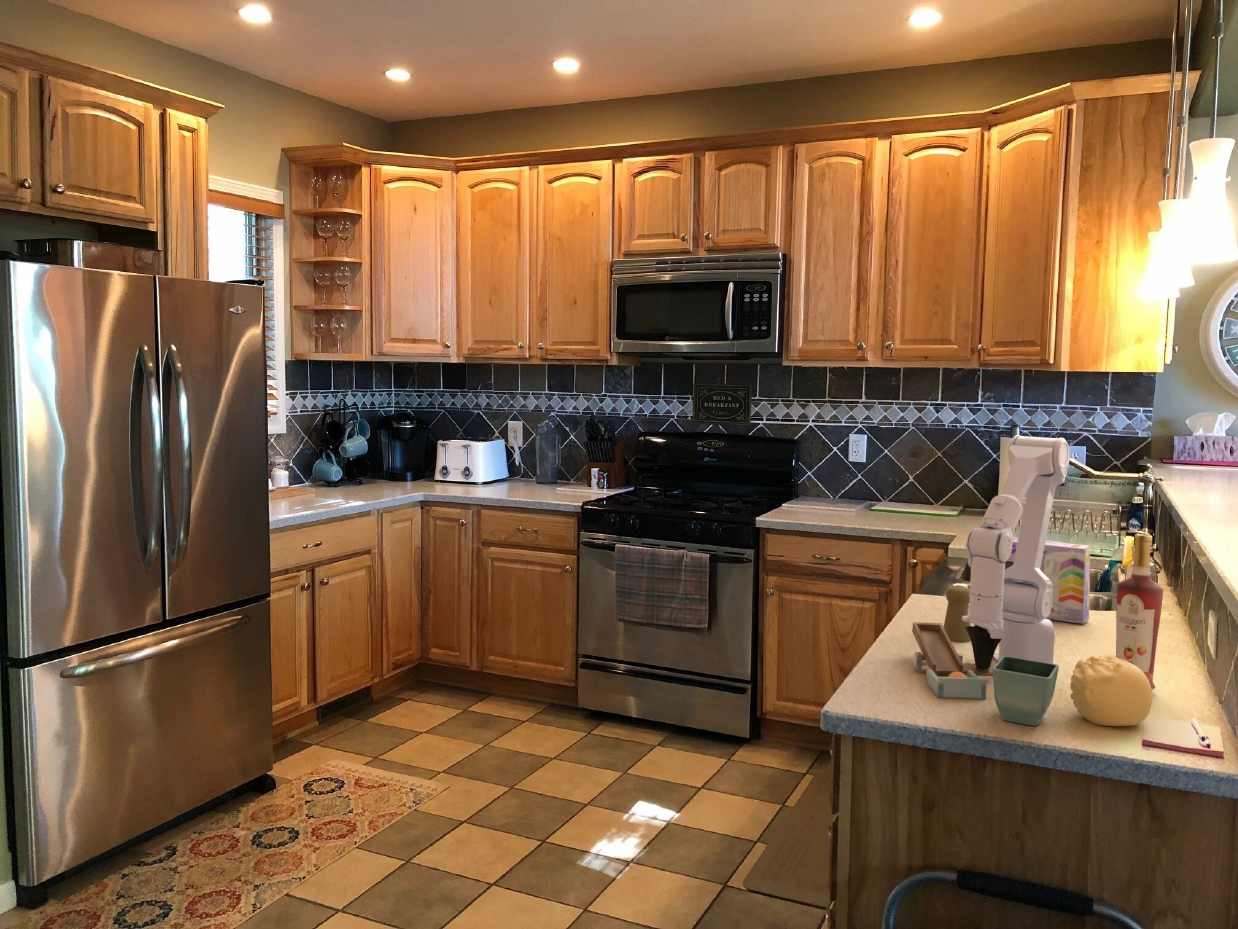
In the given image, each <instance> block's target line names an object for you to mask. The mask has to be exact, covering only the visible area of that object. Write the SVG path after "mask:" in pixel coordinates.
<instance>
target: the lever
mask: <svg viewBox="0 0 1238 929" xmlns="http://www.w3.org/2000/svg"><path fill="white" fill-rule="evenodd" d="M912 635H913V637H914V639H915V641H916V643H917V645H918V647H919V650H920V652H921V654H922V655H923V656H922V662H923V661H925V663H926V666H928V667H929V669H932V670H933V672H934V673H935V674H936V675H937V676H939V675H941V676H943V675H944V676H949V675H950V674H951V673H953V672H961V673H963V674H964V675H965V676H966V677H967V670H972V671H973V672H974V673H975V674H976V675H977V676H978V677H993V672H992V668H993V666H992V665H991V666H990V668H989V669H987V668H978V667H977V666H976V665H975V663H969V662H968V663H967V662H966V663H965V662H963V661H961V659H960V658H959V656H958V654H957V653H958V651H957V650H956V648H955V647H954V645H953V643H952V642H953V641H951V640H950V638H949V637H948V635H947V633H946V631H945V629H944V624H943V623H942V622H917V621H916V622H915V621H914V622H912Z"/></svg>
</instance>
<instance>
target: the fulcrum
mask: <svg viewBox="0 0 1238 929" xmlns="http://www.w3.org/2000/svg"><path fill="white" fill-rule="evenodd" d="M957 654H958V656H959V658H960V659H961V661H962V662H964V661H963V658H964V657H963V654H961V653H959V652H957ZM922 656H923V654H922V652H921V651H914V662H913V670H915V671H916V672H917V673H926V672H927V669H929V667H928V665H923V660H922Z"/></svg>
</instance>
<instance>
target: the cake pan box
mask: <svg viewBox="0 0 1238 929" xmlns="http://www.w3.org/2000/svg"><path fill="white" fill-rule="evenodd" d="M1017 542H1018V537H1015V536H1014V540H1013V545H1012V551H1011V555H1010V557H1009V558H1008V560H1007V561H1006V562H1005V569H1007V568H1009V567H1011V566H1012V565H1013V563H1014V558H1015V553H1016V547H1017ZM1040 570H1041V571H1042V572H1043V573H1044V574H1045V575H1046V576H1047V577H1048V578H1049V580H1050V581H1051V582H1052V584H1053V590H1052V608H1051V612H1050V614H1049V616H1048V617H1047V618H1046V619H1048V620H1050V621H1051V620H1053V621H1059V622H1060V621H1061V622H1065V623H1066V622H1067V623H1072V624H1073V623H1074V624H1081V625H1083V624H1086V623H1087V622H1089V619H1090V590H1091V587H1090V586H1091V576H1090V575H1091V545H1087V544H1077V543H1068V542H1066V543H1065V542H1061V541H1055V540H1047V539H1046V541H1045V546H1044V551H1043V557H1042V562H1041V567H1040ZM1014 583H1018V584H1024V585H1030V586H1036V587H1039V586H1038V585H1033V584H1027V583H1020V582H1014Z"/></svg>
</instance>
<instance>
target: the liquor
mask: <svg viewBox="0 0 1238 929" xmlns="http://www.w3.org/2000/svg"><path fill="white" fill-rule="evenodd" d="M1152 545H1153V536H1152V535H1149V534H1139V533H1138V534H1137V533H1135V534H1134V552H1135V553H1134V560H1133V564H1132V571H1131V577H1129V578H1125V579H1122V580H1121V581H1120V582H1118V583H1117V584H1116V605H1115V606H1116V608H1115V609H1116V611H1115V615H1116V616H1115V617H1116V619H1115V621H1116V626H1115V628H1116V629H1115V637H1116V640H1115V641H1116V642H1115V657H1117V658H1119V659H1122V660H1125V661H1128V662H1130V663H1132V664H1134V665H1135V666H1137V667H1138V668H1139V669H1140V670H1141V671H1142V672H1143V673H1144V674H1145V675H1146V677H1147V679H1148V680H1149V683H1150V686H1151V689H1152V691H1153V690H1154V689H1155V688H1156V685H1155V683H1154V681H1153V680H1154V672H1155V661H1156V653H1157V643H1158V636H1159V631H1160V624H1161V623H1160V622H1161V615H1162V608H1163V607H1162V605H1163V598H1164V597H1163V596H1164V588H1163V587H1162V586H1161V585H1160V584H1159V583H1158V582H1155V581H1153V580H1152V579H1151V559H1150V558H1151V555H1150V553H1151V550H1152V549H1151V548H1152Z"/></svg>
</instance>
